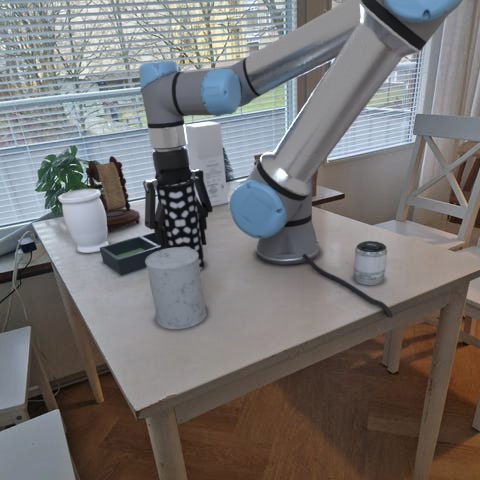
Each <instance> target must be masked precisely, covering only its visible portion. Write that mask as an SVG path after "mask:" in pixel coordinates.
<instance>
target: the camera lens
mask: <svg viewBox="0 0 480 480" xmlns="http://www.w3.org/2000/svg"><path fill="white" fill-rule="evenodd" d="M387 256H388V248H387V246H386V244H384V243H383V242H379V241H374V240H365V241H361V242H359V243H358V244H357V245H356V246H355V248H354V263H353V276H354V281H355V282H356V283H358V284H361V285H364V286H376V285H379V284H381V283H382V282H383V279H384V277H385V274H386V266H387Z"/></svg>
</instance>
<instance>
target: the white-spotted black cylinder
mask: <svg viewBox="0 0 480 480" xmlns="http://www.w3.org/2000/svg"><path fill="white" fill-rule="evenodd" d="M156 188H157V189H156V190H155V192H156V197H157V201H159V203H160V204H163V203H164V207H165V213H166V216H165V220H164V224H163V228H165V229H166V230H167V236H168V242H169V248H174V247H185V248H191V249H194V250H195V251H197V252H198V255H199V257H198V259H199V267H200V271H201V270H202V269H203V268H204V267H205V257H204V250H203V249H204V248H203V245H202V241H201V233H200V225H199V217H198V209H197V202H196V194H195V186H194V180H193V179H192V178H191V179H190V180H188V181H187V182H183V183H182V182H179V183H176V184H175V185H171V186H170V185H166V186H160V185H158V184H157V186H156Z"/></svg>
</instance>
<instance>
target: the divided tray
mask: <svg viewBox="0 0 480 480" xmlns="http://www.w3.org/2000/svg"><path fill="white" fill-rule="evenodd" d="M159 250H162V249H161V244H160V243H158V242H157V241H156V236H155V230H153V231H151V232H147V233H144V234H141V235H137V236H135V237H131V238H128V239H124V240H121V241H117V242H114V243H109V245H107V246H104V247H100V251H99V253H100V256H101V259H102V262H103V264H105V265H106V266H108V267H109V268H110V269H111V270H113V272H116V274H118V275H119V276H121V277H122V276H125V275H128V274H131V273H134V272H137V271H140V270H142V269H147V265H146V263H145V260H146V258H147V257H148V256H149V255H151V254H152V253H154V252H157V251H159Z"/></svg>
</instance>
